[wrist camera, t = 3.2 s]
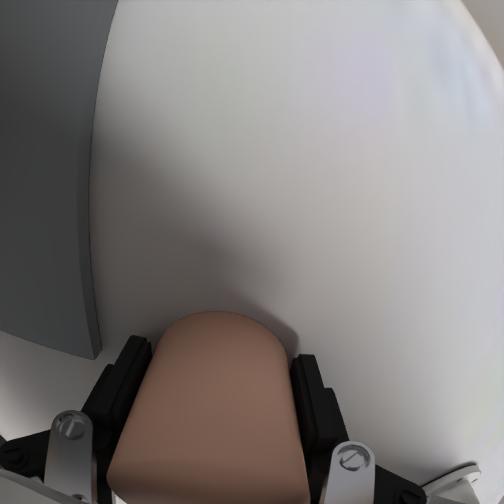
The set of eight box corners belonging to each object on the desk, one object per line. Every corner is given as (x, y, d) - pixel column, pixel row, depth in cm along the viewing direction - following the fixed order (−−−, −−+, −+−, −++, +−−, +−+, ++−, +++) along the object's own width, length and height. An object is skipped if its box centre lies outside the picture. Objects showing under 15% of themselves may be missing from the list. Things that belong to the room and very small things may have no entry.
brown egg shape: (275, 414, 12) (287, 532, 6) (160, 401, 12) (128, 515, 6) (299, 318, 10) (339, 463, 5) (152, 302, 10) (81, 434, 4)
